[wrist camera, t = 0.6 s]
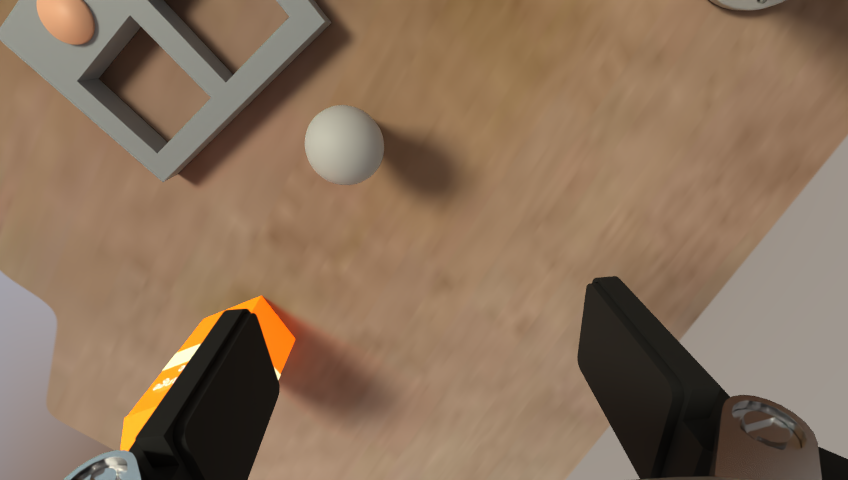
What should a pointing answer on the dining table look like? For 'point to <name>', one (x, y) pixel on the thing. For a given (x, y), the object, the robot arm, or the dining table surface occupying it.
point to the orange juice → (271, 326)
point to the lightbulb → (344, 145)
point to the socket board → (145, 7)
